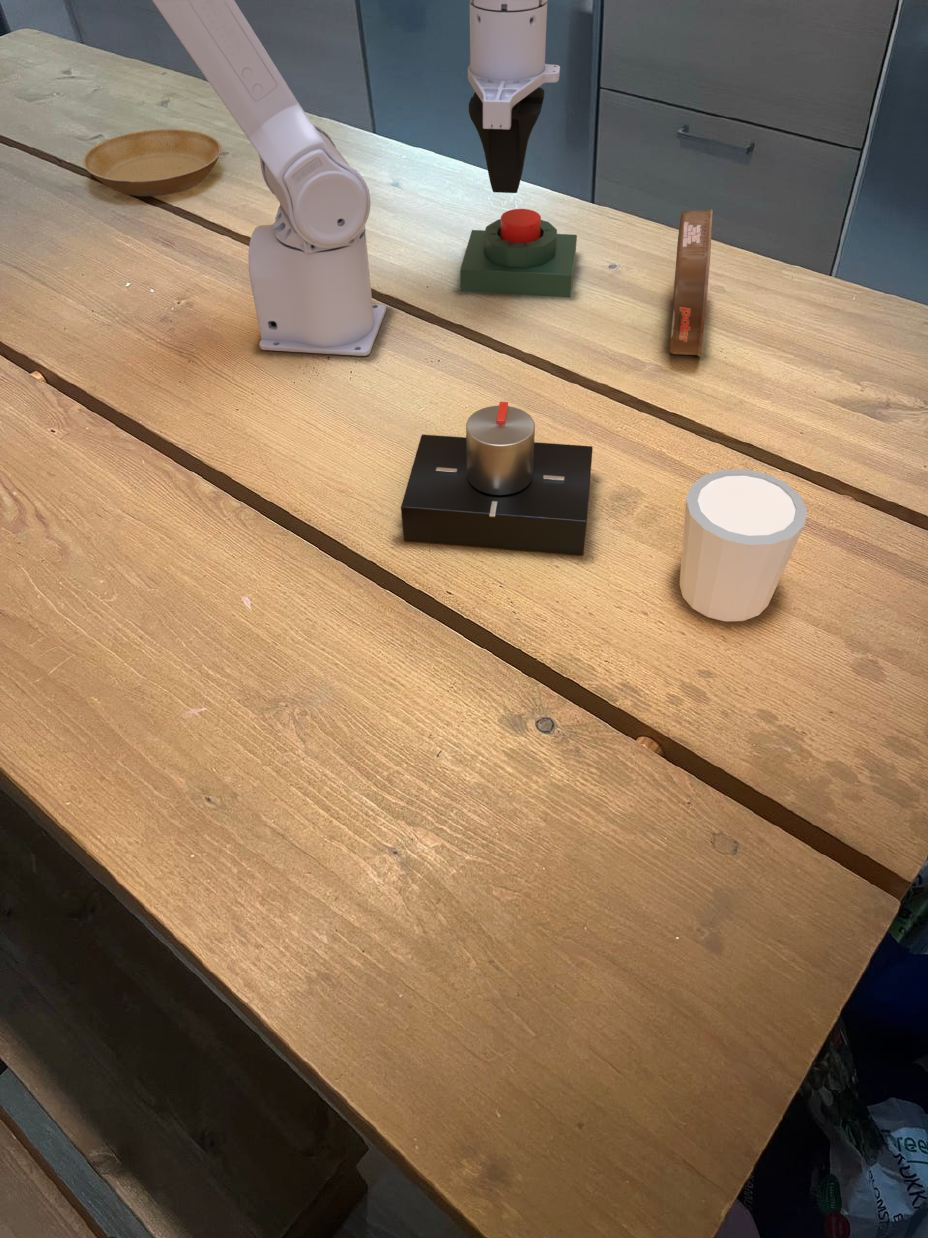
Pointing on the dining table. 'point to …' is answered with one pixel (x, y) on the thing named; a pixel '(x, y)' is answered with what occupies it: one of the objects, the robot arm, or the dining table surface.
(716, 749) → the dining table surface
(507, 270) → the button box
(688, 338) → the brown rectangular box
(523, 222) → the button
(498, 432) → the knob
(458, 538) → the panel
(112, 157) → the plant saucer
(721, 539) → the white cylinder
